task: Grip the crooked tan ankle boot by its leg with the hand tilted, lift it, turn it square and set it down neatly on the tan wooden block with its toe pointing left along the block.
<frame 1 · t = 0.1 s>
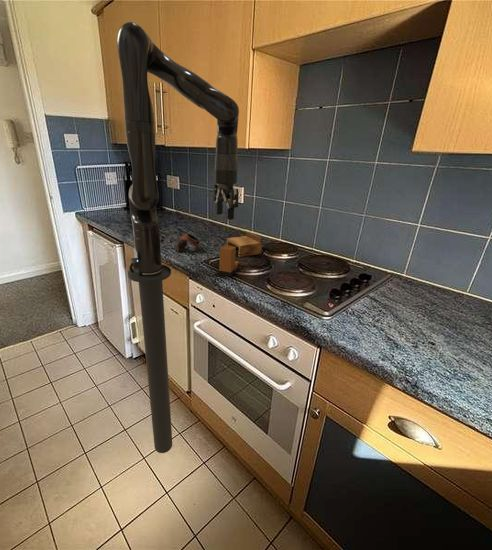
hand: (224, 216, 106), 20 cm above the table, tool pointing down, fingers open, 8 cm apart
tan wooden block: (243, 251, 134), on the table
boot: (229, 271, 113), on the table
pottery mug: (186, 250, 134), on the table
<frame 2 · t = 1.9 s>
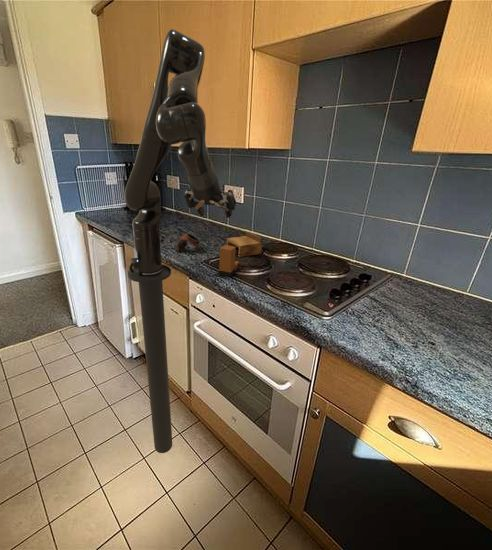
hand: (215, 214, 93), 24 cm above the table, tool tilted 45°, fingers open, 8 cm apart
nothing on the table moved.
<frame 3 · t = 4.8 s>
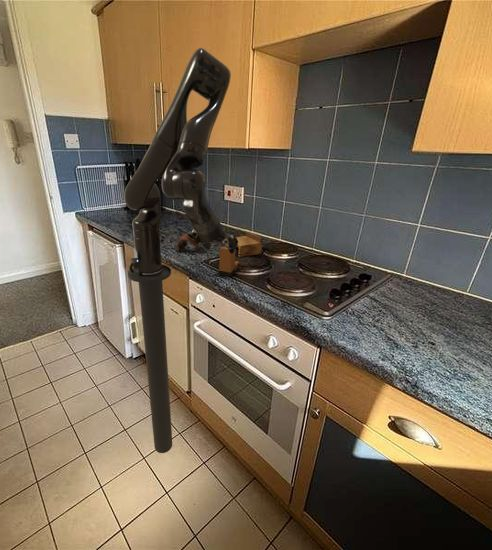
hand: (220, 249, 100), 11 cm above the table, tool tilted 45°, fingers open, 8 cm apart
nothing on the table moved.
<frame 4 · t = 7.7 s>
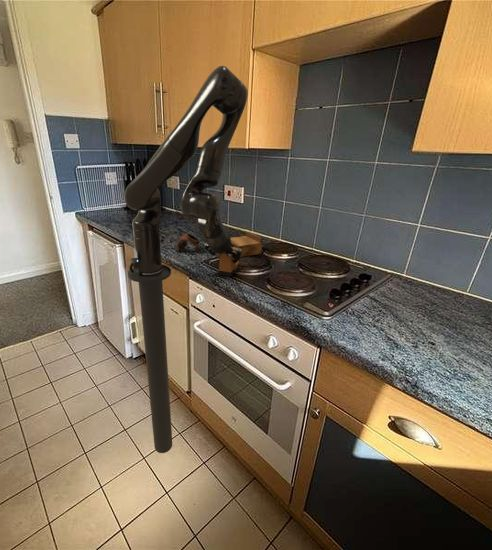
hand: (229, 260, 110), 5 cm above the table, tool tilted 45°, fingers closed on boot, 4 cm apart
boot: (229, 271, 113), on the table, touching gripper
everything else where it was.
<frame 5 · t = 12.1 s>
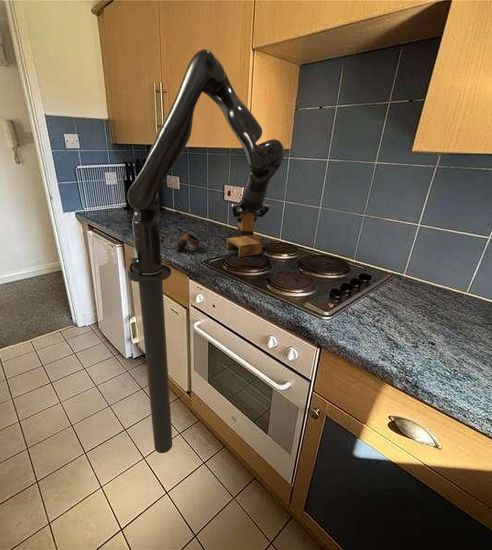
hand: (246, 220, 115), 17 cm above the table, tool tilted 45°, fingers closed on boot, 4 cm apart
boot: (245, 232, 117), point 12 cm above the table, touching gripper
everything else where it was.
when the fingers open (10 cm above the table, at t = 16.6 s): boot stays where it is, resting on tan wooden block.
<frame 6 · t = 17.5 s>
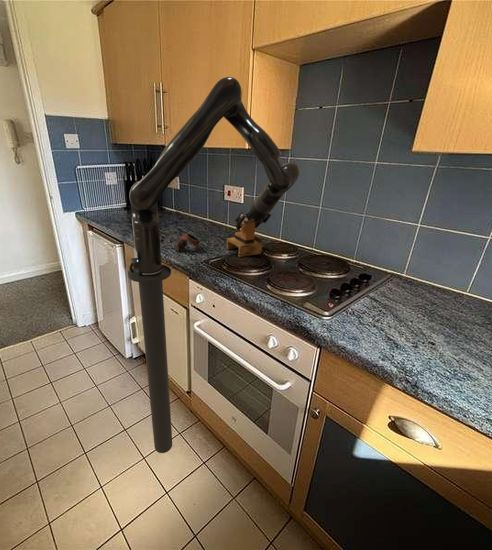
hand: (246, 227, 129), 11 cm above the table, tool tilted 45°, fingers open, 8 cm apart
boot: (244, 240, 132), point 5 cm above the table, touching tan wooden block
everything else where it was.
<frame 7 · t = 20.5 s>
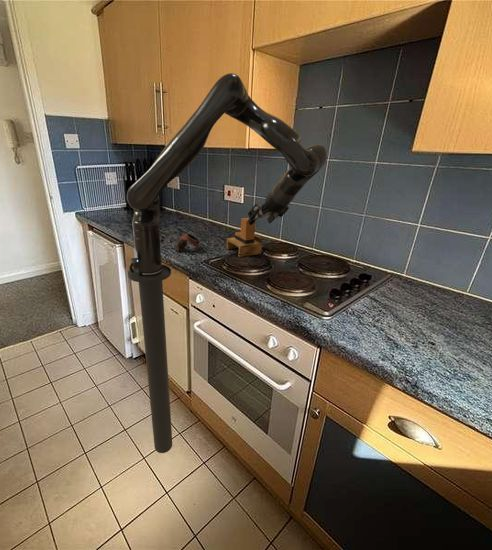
hand: (259, 222, 114), 17 cm above the table, tool tilted 45°, fingers open, 8 cm apart
nothing on the table moved.
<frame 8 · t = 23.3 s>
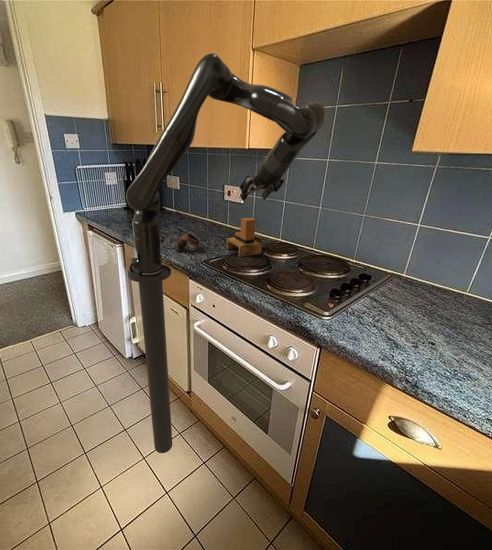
hand: (252, 198, 105), 27 cm above the table, tool tilted 45°, fingers open, 8 cm apart
nothing on the table moved.
at the end: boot 0.1 cm off-centre on the tan wooden block, point 5.0 cm above the tan wooden block's base; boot tilted 0°; the gripper is holding nothing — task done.
